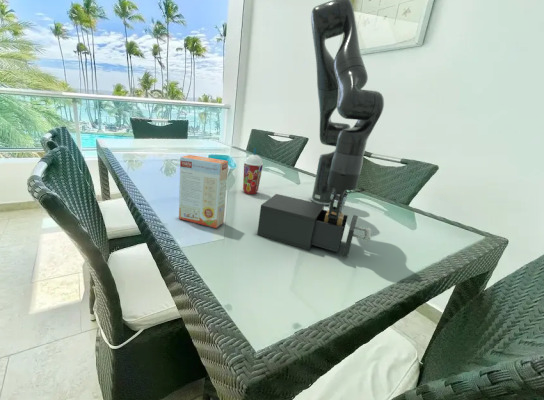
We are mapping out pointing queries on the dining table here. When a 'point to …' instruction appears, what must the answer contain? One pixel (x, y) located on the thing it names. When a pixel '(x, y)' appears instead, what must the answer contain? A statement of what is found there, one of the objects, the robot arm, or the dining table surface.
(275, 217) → the cabinet
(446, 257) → the dining table surface
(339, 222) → the block
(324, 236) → the drawer
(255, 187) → the smoothie
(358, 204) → the dining table surface
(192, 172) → the cracker box
